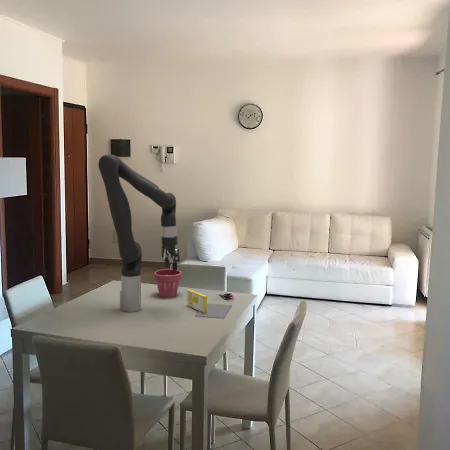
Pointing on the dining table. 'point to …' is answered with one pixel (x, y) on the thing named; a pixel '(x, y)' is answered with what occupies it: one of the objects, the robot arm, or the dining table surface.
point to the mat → (215, 311)
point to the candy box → (197, 301)
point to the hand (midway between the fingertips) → (171, 268)
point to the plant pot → (167, 282)
